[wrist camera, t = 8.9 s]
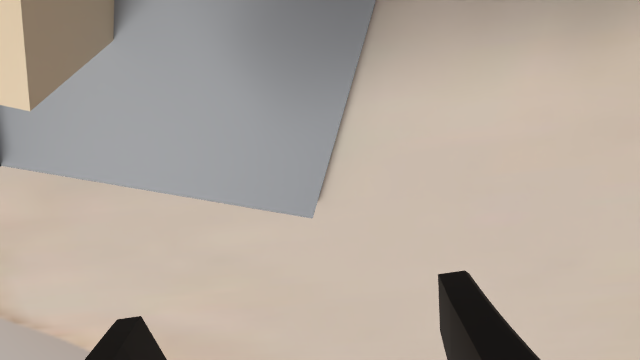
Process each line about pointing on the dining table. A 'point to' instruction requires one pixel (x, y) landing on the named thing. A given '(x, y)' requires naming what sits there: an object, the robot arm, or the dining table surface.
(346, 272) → the dining table surface
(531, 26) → the dining table surface
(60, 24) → the carton
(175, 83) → the shelf board
